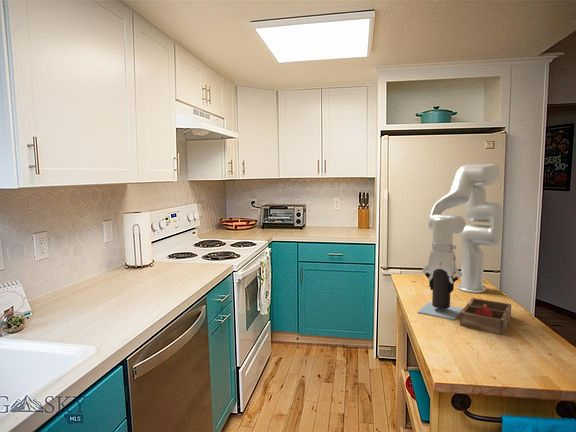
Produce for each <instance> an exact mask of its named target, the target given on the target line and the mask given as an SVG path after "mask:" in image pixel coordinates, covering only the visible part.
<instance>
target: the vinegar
mask: <svg viewBox="0 0 576 432" xmlns="http://www.w3.org/2000/svg"><path fill="white" fill-rule="evenodd" d="M439 265H442V264H441V260H440V263H439ZM449 283H450V281H449V277H448V274H447V272H446V271H444V270H442V269H437V270H434V272H433V290H432V295H431V299H432V301H431V303H432V305H433V306H434V307H436V308H440V309H447V308H449V307H450V306H451V293H449V292H448V289H449Z"/></svg>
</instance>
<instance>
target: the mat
mask: <svg viewBox="0 0 576 432" xmlns="http://www.w3.org/2000/svg"><path fill="white" fill-rule="evenodd" d="M463 309H464V308H463V307H457V306H452V305H450V307H449V308H447V309H440V308H436V307H434V306H433V305H432V301H431V302H430V301H428V302H427V303H425V305H424V306H423V307H421V309H419V310H418V311H417V313H418V314H421V315H426V316H432V317H436V318H441V319H446V320H451V321H455V320H456V319H457V318H458V316H459V315H461V311H462V310H463Z"/></svg>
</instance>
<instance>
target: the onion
mask: <svg viewBox="0 0 576 432" xmlns="http://www.w3.org/2000/svg"><path fill="white" fill-rule="evenodd" d="M486 306H487V305H486V304H484V305H483V306H482V307H480V308H478V309H477V310H476V313H475V314H476V315H481V316H487V317H492V318H493V314H492V312H491V310H490V309H489V308H487V307H486Z"/></svg>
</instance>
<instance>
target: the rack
mask: <svg viewBox="0 0 576 432" xmlns="http://www.w3.org/2000/svg"><path fill="white" fill-rule="evenodd" d="M484 304H486V305H487V306H486V307H487V308H489V309H490V310H491V312H492V314H493V318H492V317H487V316H481V315H476V314H475V313H476V310H477V309H478V308H480V307H482V306H483V305H484ZM459 315H460V321H459V322H460V324H459V326H460V327H466V328H470V329H476V330H480V331H485V332H490V333H494V334H495V333H496V334H499V335H504V334H505V331H506V328H507V326H508V324H509V322H510V320H511V317H512V316H511V315H512V303H505V302H500V301H494V300H488V299H482V298H477V297H476V298H475V297H472V298H470V300H469V301H468V302H467V304H466V305H465V306H464V308H463V310H462V311H461V313H460V314H459Z"/></svg>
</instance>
